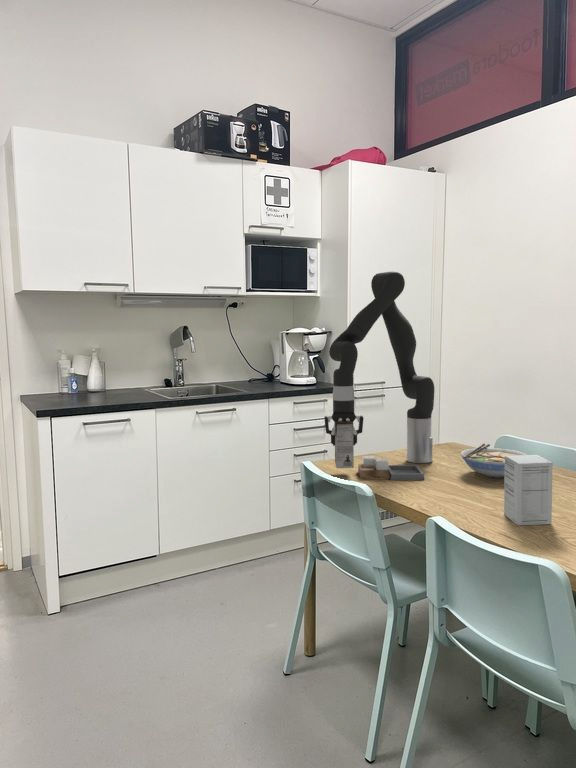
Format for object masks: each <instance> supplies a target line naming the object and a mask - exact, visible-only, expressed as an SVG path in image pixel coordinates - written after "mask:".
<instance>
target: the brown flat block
mask: <svg viewBox="0 0 576 768" xmlns="http://www.w3.org/2000/svg"><path fill="white" fill-rule="evenodd" d="M357 465H358V467H357V468H358V475H359V477H360V479H361V478H390V470H389V468H388V470H376V468H375V467H363V463H358V464H357Z"/></svg>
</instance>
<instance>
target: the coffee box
mask: <svg viewBox="0 0 576 768" xmlns="http://www.w3.org/2000/svg"><path fill="white" fill-rule="evenodd" d="M333 422H334V421H333ZM334 425H335V446H334V462H335V468H336V469H354V465H355V464H354V461H355V459H354V454H355V453H354V451H355V450H354V447H355V445H354V438H353V437H354V436H353V426H354V422H353V421H351V422H347V421H341V422H337V421H336V422H334Z"/></svg>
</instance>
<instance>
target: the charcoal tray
mask: <svg viewBox="0 0 576 768" xmlns="http://www.w3.org/2000/svg"><path fill="white" fill-rule="evenodd" d="M388 468H389V470H390V478H391V479H390V480H391V481H423V480H424V481H425V474H424V472H423V471H422V470H421V468H420V467H419V465H418V464H388Z"/></svg>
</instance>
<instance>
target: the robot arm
mask: <svg viewBox="0 0 576 768" xmlns="http://www.w3.org/2000/svg"><path fill="white" fill-rule="evenodd" d="M370 284H371V285H370V286H371V291H372V294H373V296H374V299H373V300H372V301H370V303H368V304H367V305H366V306H364V307H363V308H362V309H361V310H360V311H359V312H358V313H357V314H356V315H355V316H354V317H353V319H352V320H351V322H350V323H349V325H348V326H347V328H346V329H345V330H344V331H343V332H342V333H340V335H338V336H337V337H336V338H335V339H334V341H333V342H332V343H331V344H330V347H329V350H328V355H329V357H330V358H331V359H332V360H333V361H335V362H340V364H339V367H338V368H337V369H334V372H333V388H332V389H333V390H332V415H329V416H328V415H324V417H323V418H324V419H323V420H324V428H325V433H326V434H328V435H330V443H331V445H332V446H334V447H335V424H334V425H333V427H332V429H331V430H330V427H329V423H331V420H332V421H333V422H336V421H337V422H341V421H347V422H351V421H353V423H354V421H357V422H358V429H356V428H355V427H354V425H353V436H354V437H353V438H354V446H356V445H357V443H358V435H359V434H363V427H364V416H363V415H356V413H355V388H354V379H355V378H354V373H355V369H356V365H357V362H358V356H359V353H358V347H357V346H356V344H358V343H362V341H363V340H364V339H366V336H367V335H368V334H369V332H370V330H371V329H372V327H373V326H374V325H375V323H376V322H377V321H378V320H379V319H380V317H382V319H383V322H384V325H385V327H386V328H385V329H386V331H387V335H388V339H389V342H390V344H391V348H392V351H393V353H394V358H395V361H396V365H397V369H398V373H399V377H400V378H399V379H400V382H401V387H402V391H403V393H404V395H405V396H406V398H408V399H410V400H415V405H414V406H413V407H411V408H409V409H407V411H406V462H408V463H413V464H426V463H427V464H429V463H433V437H432V414H433V411H434V406H435V405H434V404H435V384H434V381H433V379H432V378H431V377H430V376H424V375H418V374H417V372H416V368H415V366H414V356H415V352H416V350H417V339H416V337H415V333H414V329H413V326H412V325H411V322H410V321H409V320H408V319H407V318H406V316H405V315H404V314H403V313H402V312H401V311H400V309H399V307H398V306H397V304H396V299H398V297H399V296H400V295H401V294H402V293H403V291H404V289H405V286H406V285H405V284H406V283H405V278H404V275H403V274H402V273H400V272H399V271H394V270H393V271H386V272H385V271H384V272H379V273H375V275H374V276H373V277H372V279H371V282H370Z"/></svg>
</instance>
